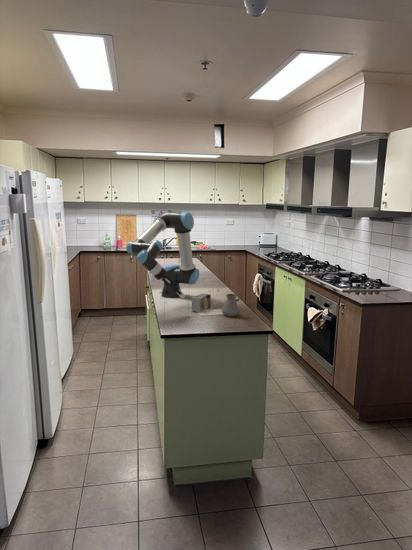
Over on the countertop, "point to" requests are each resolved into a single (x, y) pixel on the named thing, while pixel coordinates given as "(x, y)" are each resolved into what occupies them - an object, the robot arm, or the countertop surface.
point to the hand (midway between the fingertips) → (183, 297)
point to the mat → (211, 312)
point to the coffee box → (201, 302)
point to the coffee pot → (231, 306)
